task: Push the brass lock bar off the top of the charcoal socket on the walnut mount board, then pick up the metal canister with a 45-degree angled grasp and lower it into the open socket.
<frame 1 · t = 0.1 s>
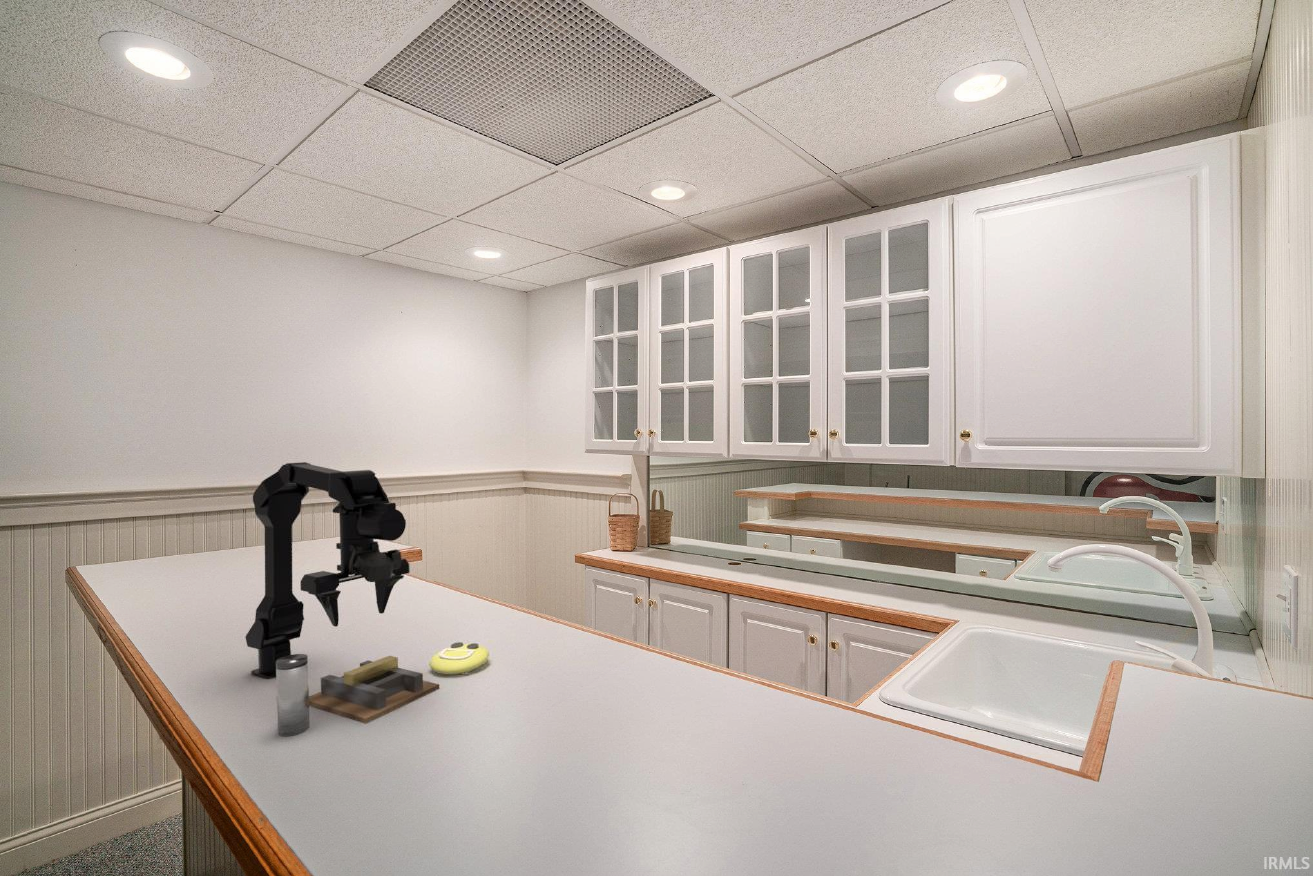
hand: (359, 619, 118), 14 cm above the counter, tool pointing down, fingers open, 9 cm apart
emoji: (459, 668, 132), on the counter
mount: (372, 695, 118), on the counter
lock bar: (371, 670, 118), point 5 cm above the counter, slide at 0.0 cm
metal canister: (294, 729, 105), on the counter
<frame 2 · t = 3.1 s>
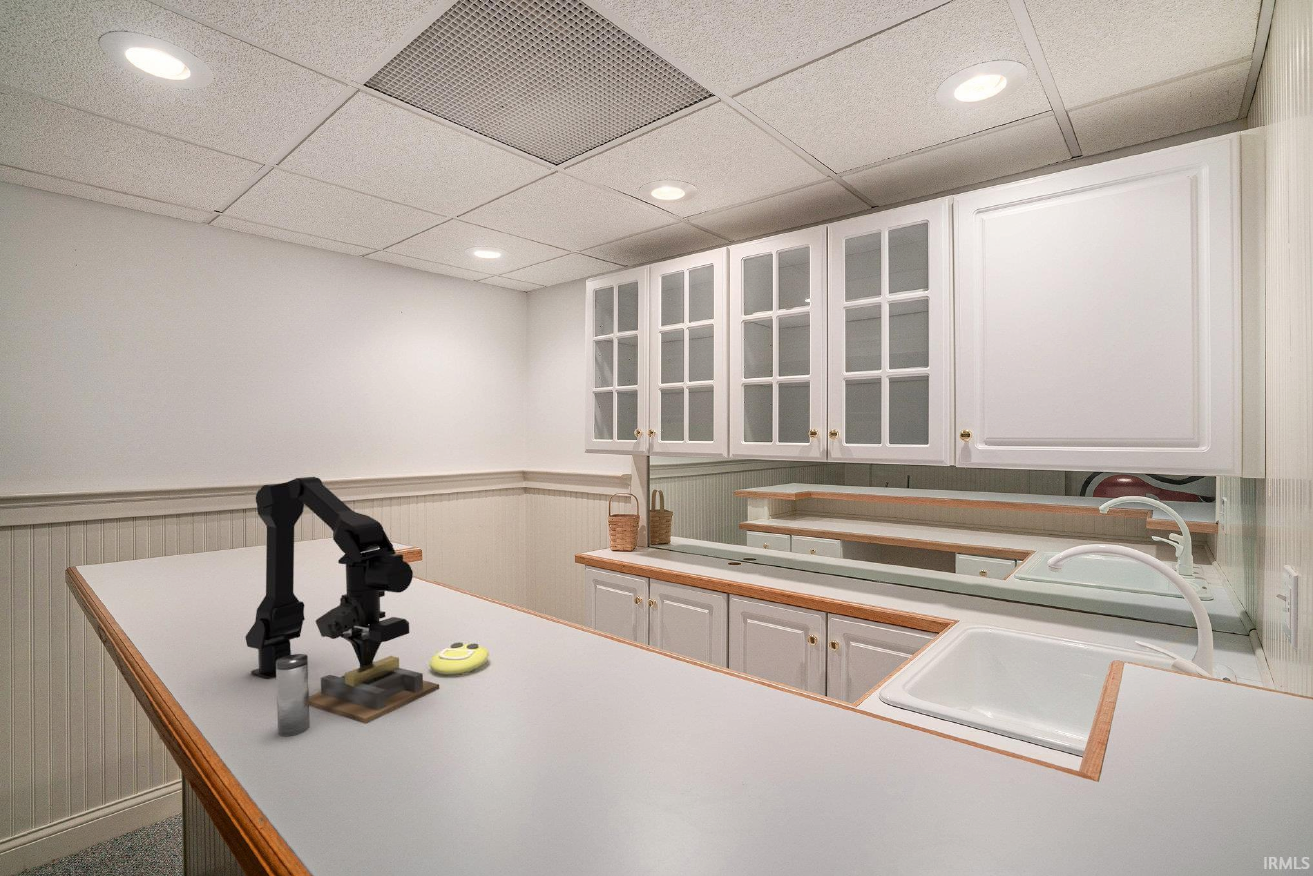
hand: (365, 669, 119), 5 cm above the counter, tool pointing down, fingers closed
lock bar: (372, 670, 118), point 5 cm above the counter, slide at 0.3 cm, touching gripper
everything else where it was.
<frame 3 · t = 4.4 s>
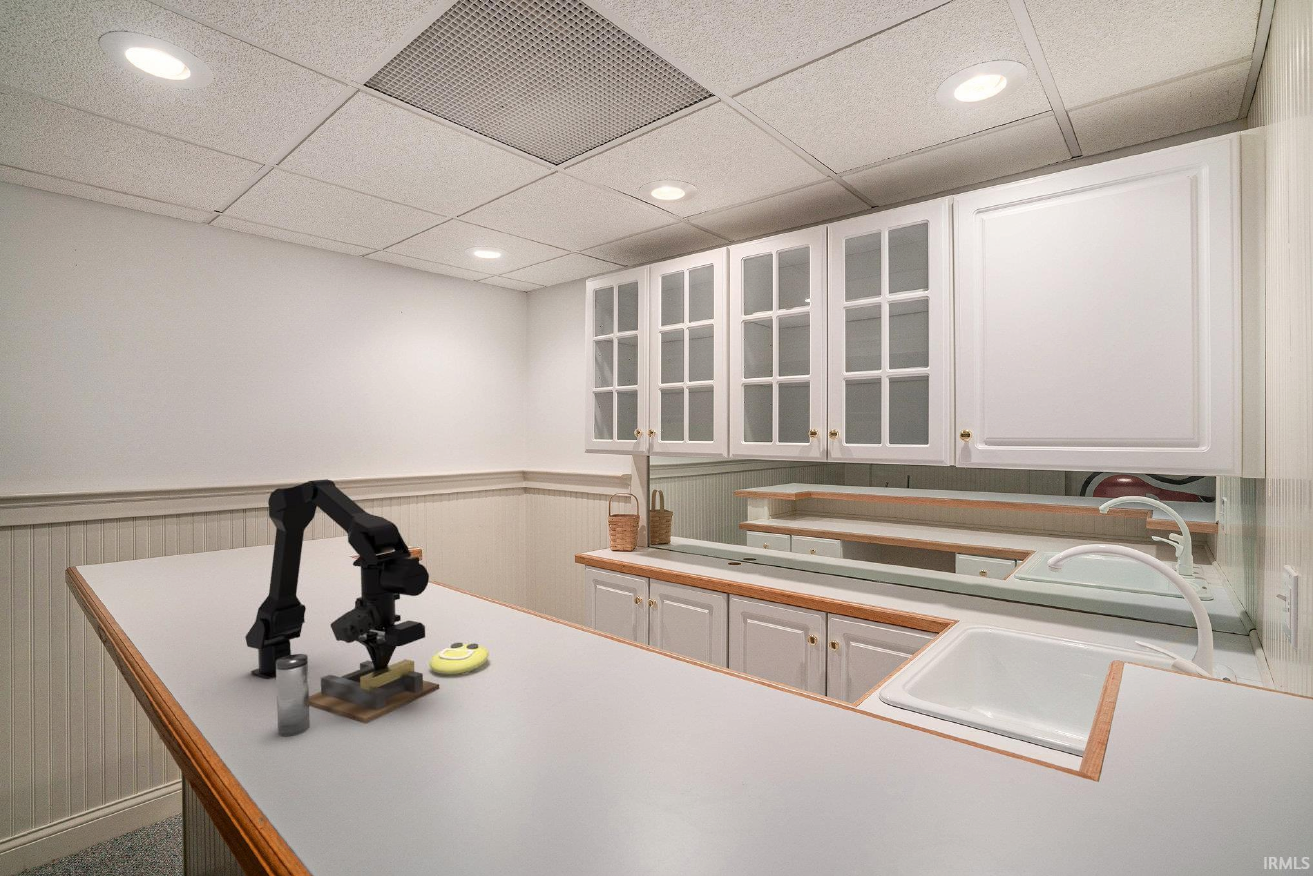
hand: (380, 673, 117), 5 cm above the counter, tool pointing down, fingers closed
lock bar: (388, 674, 116), point 5 cm above the counter, slide at 4.7 cm, touching gripper
everything else where it was.
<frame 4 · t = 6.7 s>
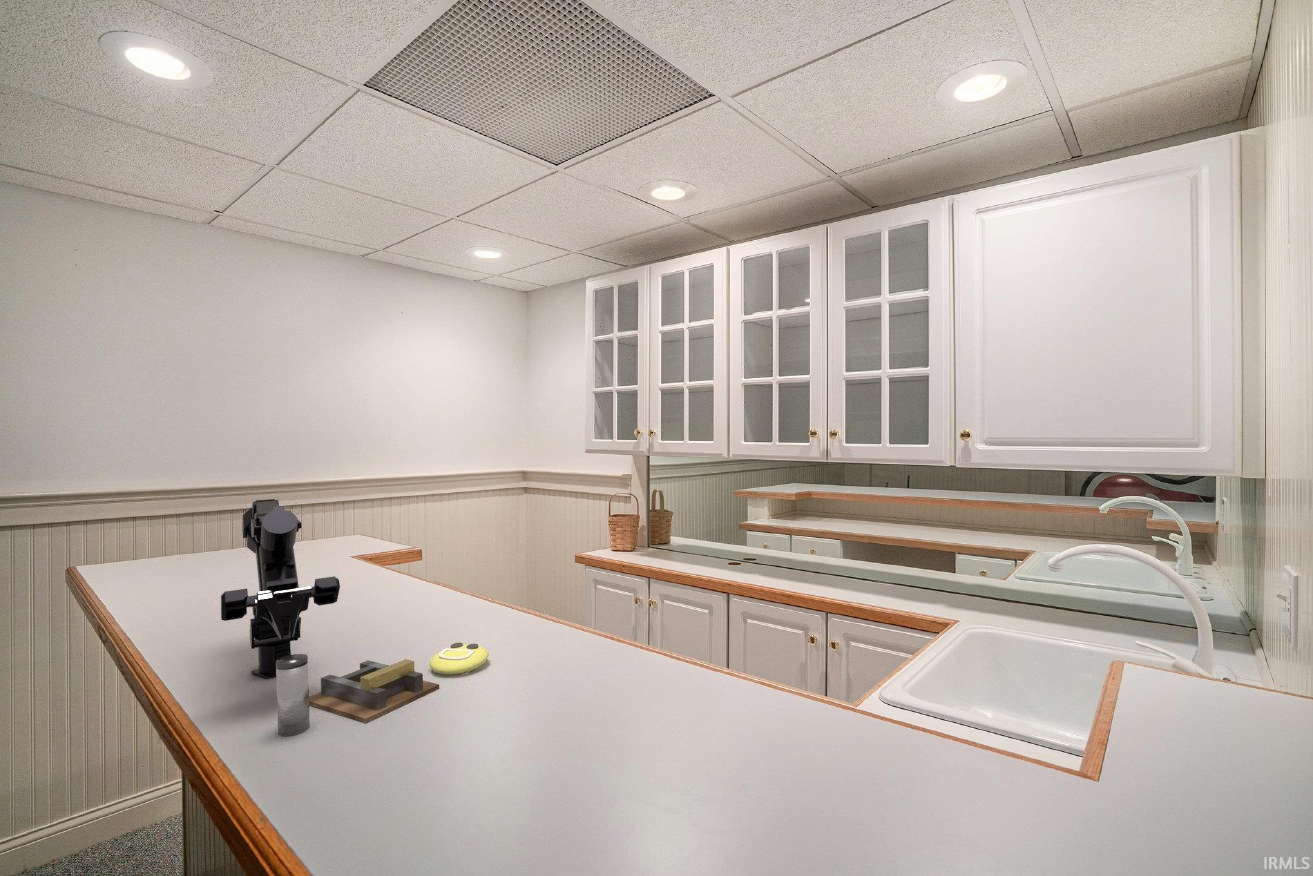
hand: (286, 638, 112), 13 cm above the counter, tool tilted 45°, fingers closed
lock bar: (388, 674, 116), point 5 cm above the counter, slide at 4.7 cm
everything else where it was.
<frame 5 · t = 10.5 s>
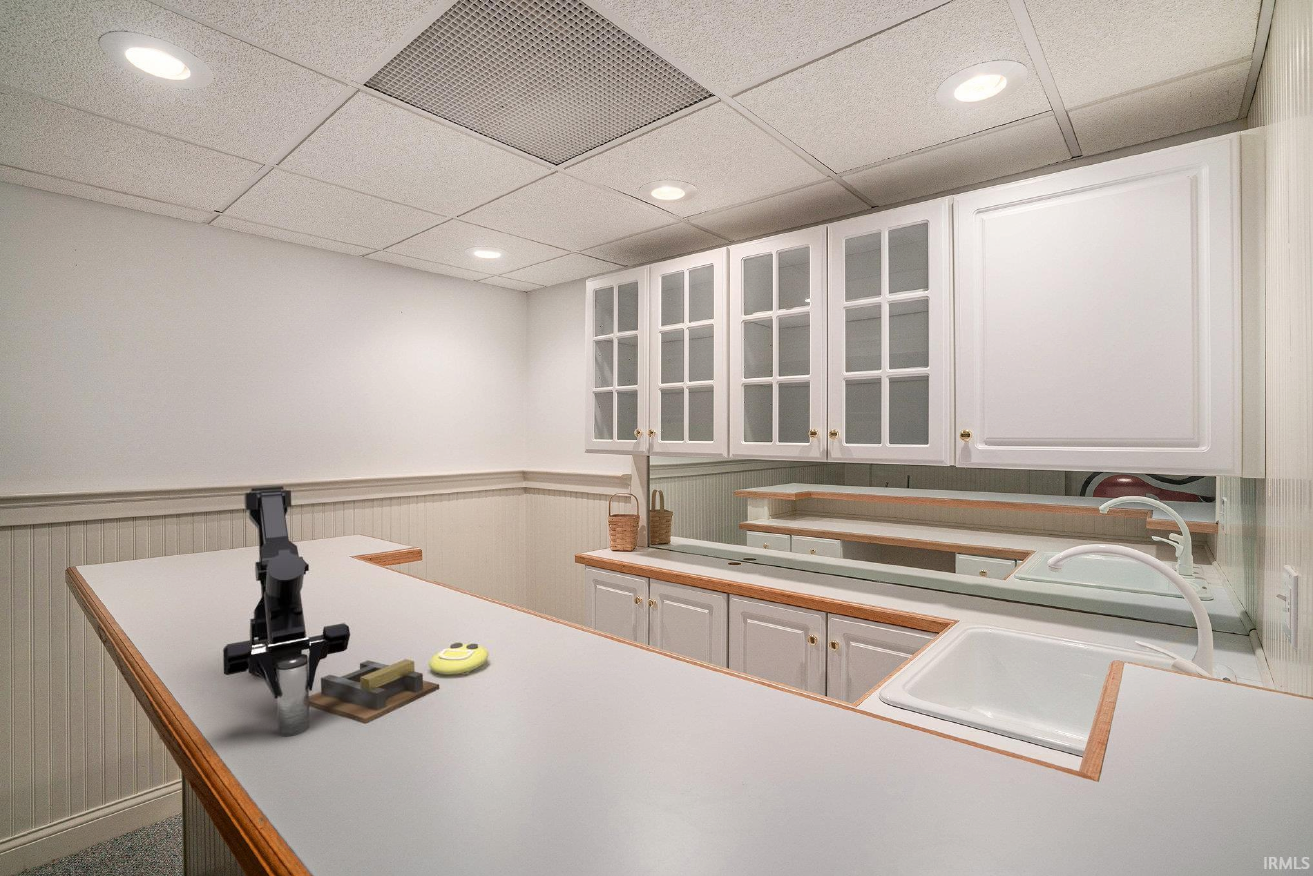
hand: (293, 693, 104), 7 cm above the counter, tool tilted 45°, fingers closed on metal canister, 5 cm apart
metal canister: (294, 729, 105), on the counter, touching gripper
everything else where it was.
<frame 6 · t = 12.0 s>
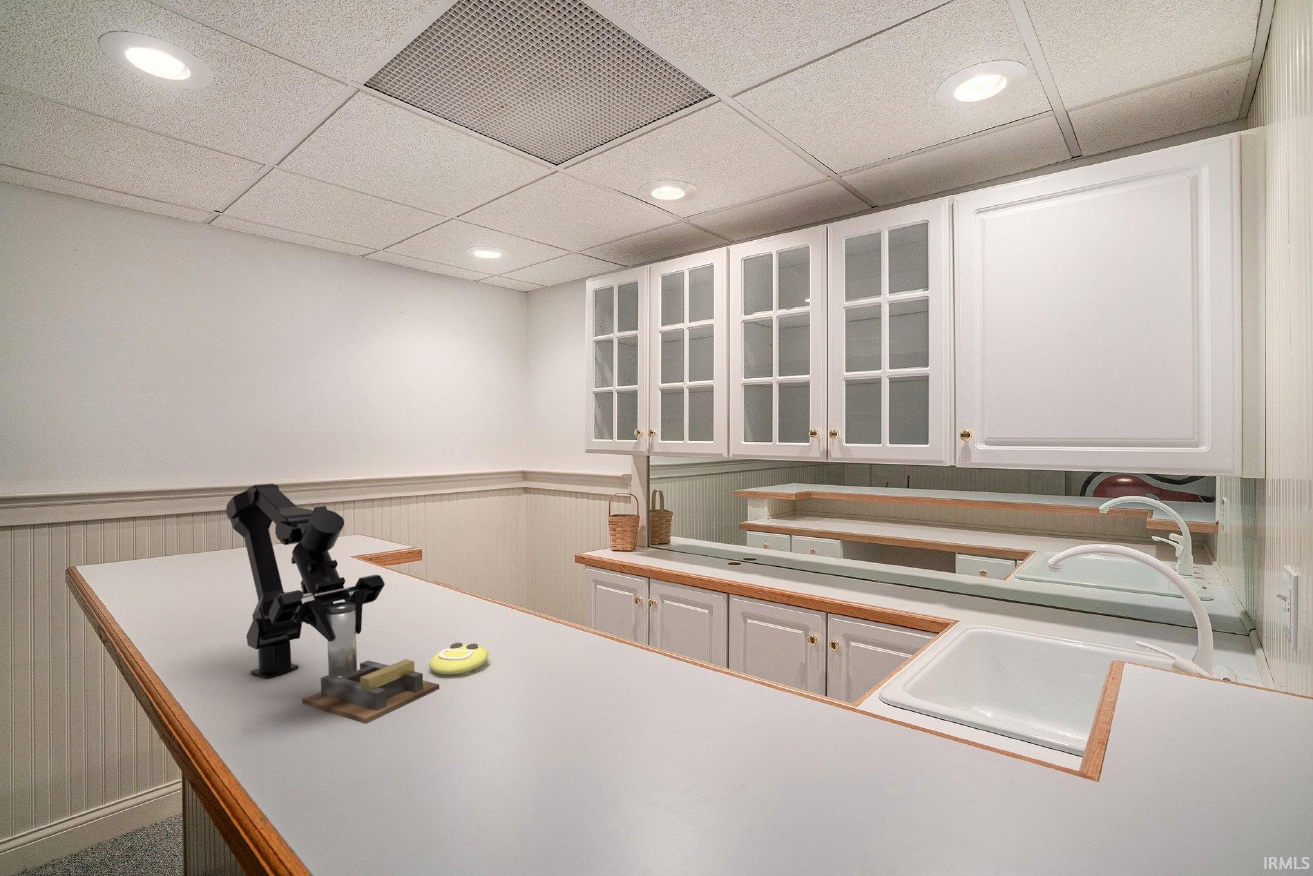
hand: (345, 636, 112), 13 cm above the counter, tool tilted 45°, fingers closed on metal canister, 5 cm apart
metal canister: (342, 671, 113), point 7 cm above the counter, touching gripper
everything else where it was.
when the fingers open (9 cm above the counter, at t = 13.6 s): metal canister drops 2 cm, resting on mount.
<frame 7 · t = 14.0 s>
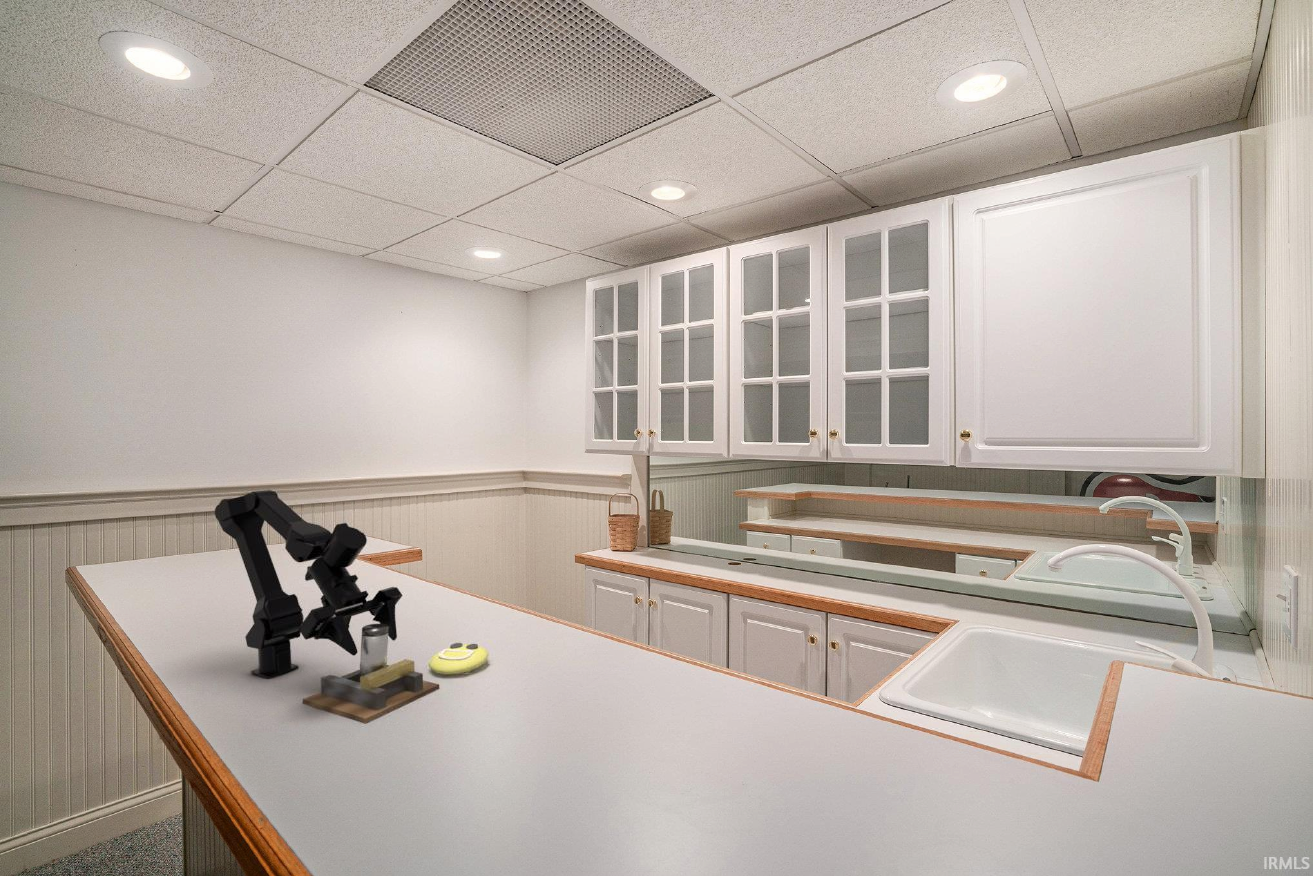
hand: (376, 646, 118), 10 cm above the counter, tool tilted 45°, fingers open, 8 cm apart
metal canister: (372, 690, 118), point 1 cm above the counter, touching mount
everything else where it was.
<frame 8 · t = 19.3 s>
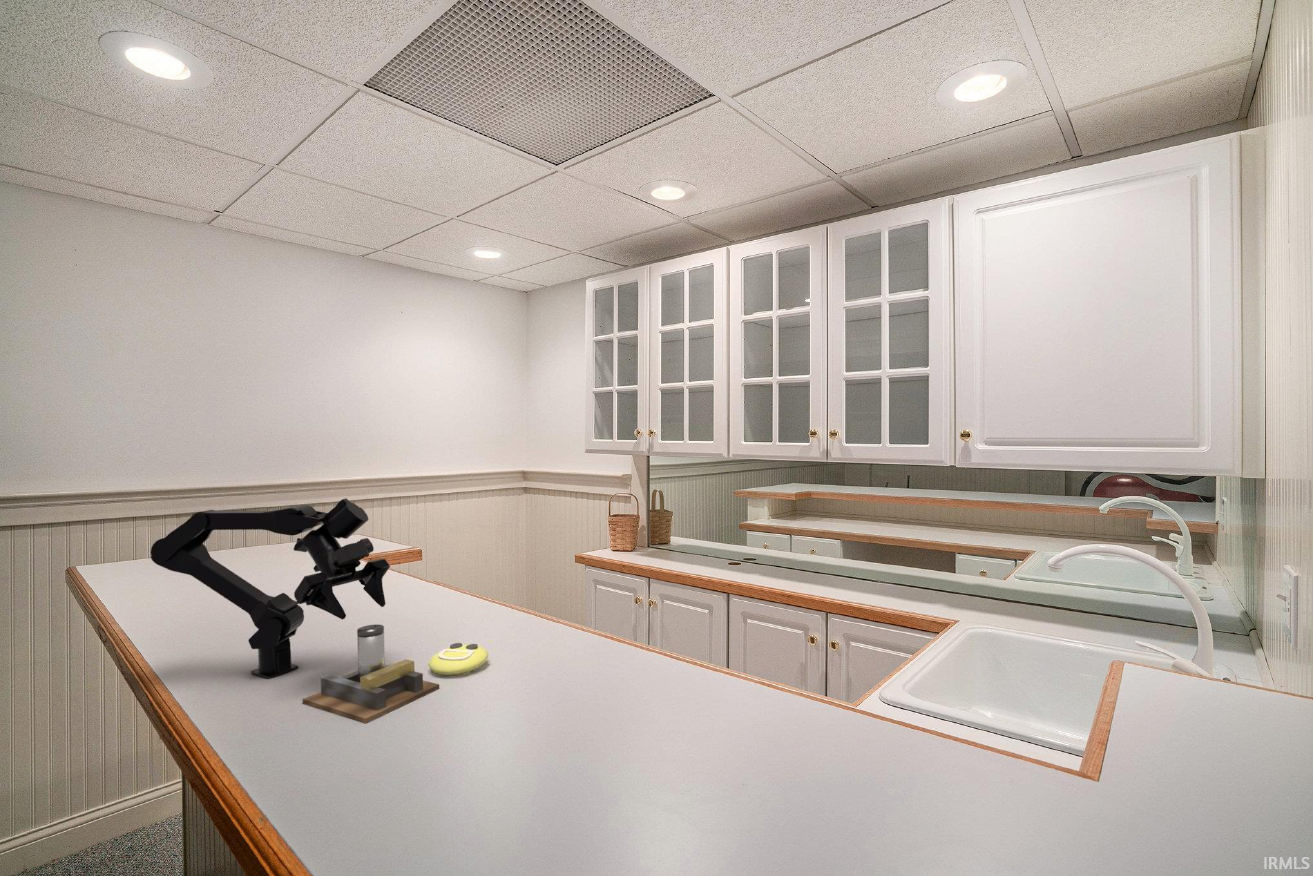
hand: (364, 611, 127), 14 cm above the counter, tool tilted 45°, fingers open, 9 cm apart
nothing on the counter moved.
at the end: metal canister 0.0 cm off-centre on the mount, point 0.8 cm above the mount's base; metal canister tilted 0°; lock bar slide at 4.7 cm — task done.
